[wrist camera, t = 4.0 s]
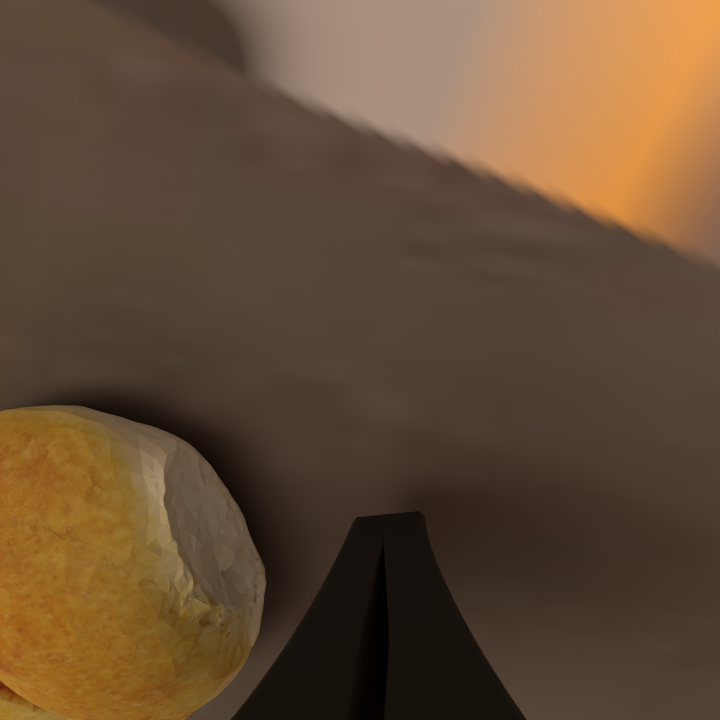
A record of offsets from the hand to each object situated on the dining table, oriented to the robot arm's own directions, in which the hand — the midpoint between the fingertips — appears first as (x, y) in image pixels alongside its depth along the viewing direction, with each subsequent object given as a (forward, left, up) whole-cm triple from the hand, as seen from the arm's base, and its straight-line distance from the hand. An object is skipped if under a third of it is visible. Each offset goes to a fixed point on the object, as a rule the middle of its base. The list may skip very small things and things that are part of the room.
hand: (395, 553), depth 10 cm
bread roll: (0, +7, -2) cm, 8 cm away
